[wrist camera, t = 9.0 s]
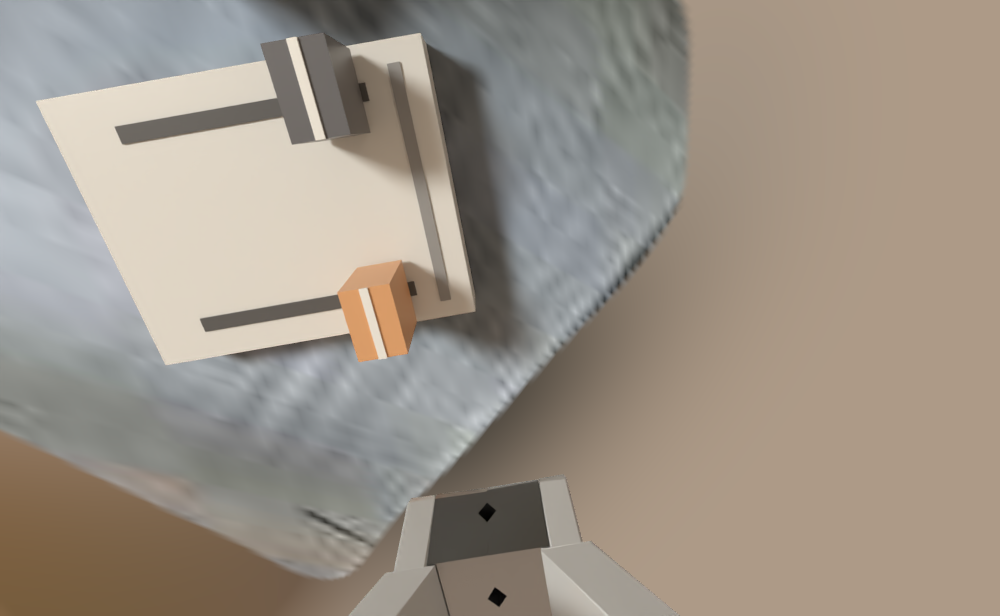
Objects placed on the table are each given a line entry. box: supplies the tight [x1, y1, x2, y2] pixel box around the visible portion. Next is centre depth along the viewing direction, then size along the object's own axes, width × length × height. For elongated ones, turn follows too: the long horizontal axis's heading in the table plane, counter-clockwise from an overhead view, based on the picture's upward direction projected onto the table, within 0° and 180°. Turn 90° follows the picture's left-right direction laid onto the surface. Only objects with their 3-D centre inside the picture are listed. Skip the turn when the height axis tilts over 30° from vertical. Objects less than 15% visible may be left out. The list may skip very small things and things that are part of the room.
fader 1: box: [261, 33, 371, 145], centre depth 20 cm, size 4×2×4 cm, turn 9°
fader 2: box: [337, 260, 417, 362], centre depth 23 cm, size 4×2×4 cm, turn 9°
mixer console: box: [36, 33, 475, 365], centre depth 25 cm, size 14×18×3 cm
